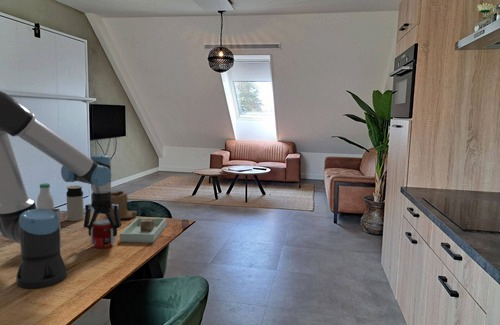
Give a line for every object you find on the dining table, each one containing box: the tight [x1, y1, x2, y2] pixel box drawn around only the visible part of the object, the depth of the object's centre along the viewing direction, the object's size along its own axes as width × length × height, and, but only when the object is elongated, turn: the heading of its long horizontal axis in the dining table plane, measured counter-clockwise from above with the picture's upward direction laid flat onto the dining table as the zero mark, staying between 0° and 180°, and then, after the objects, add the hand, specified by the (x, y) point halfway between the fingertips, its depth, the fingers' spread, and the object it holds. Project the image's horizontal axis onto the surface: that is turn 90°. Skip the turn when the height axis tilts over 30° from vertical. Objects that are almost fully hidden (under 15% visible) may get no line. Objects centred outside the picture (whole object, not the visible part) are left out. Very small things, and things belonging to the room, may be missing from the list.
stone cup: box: [110, 190, 138, 220], centre depth 202 cm, size 15×12×15 cm
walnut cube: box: [140, 219, 154, 232], centre depth 181 cm, size 5×5×5 cm
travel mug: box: [65, 184, 85, 222], centre depth 198 cm, size 8×8×18 cm
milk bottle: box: [36, 183, 55, 209], centre depth 193 cm, size 8×8×20 cm
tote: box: [119, 217, 168, 244], centre depth 178 cm, size 26×15×4 cm, turn 0°
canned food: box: [93, 218, 113, 250], centre depth 160 cm, size 8×8×11 cm
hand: (103, 243), depth 160 cm, fingers closed on canned food, 8 cm apart
